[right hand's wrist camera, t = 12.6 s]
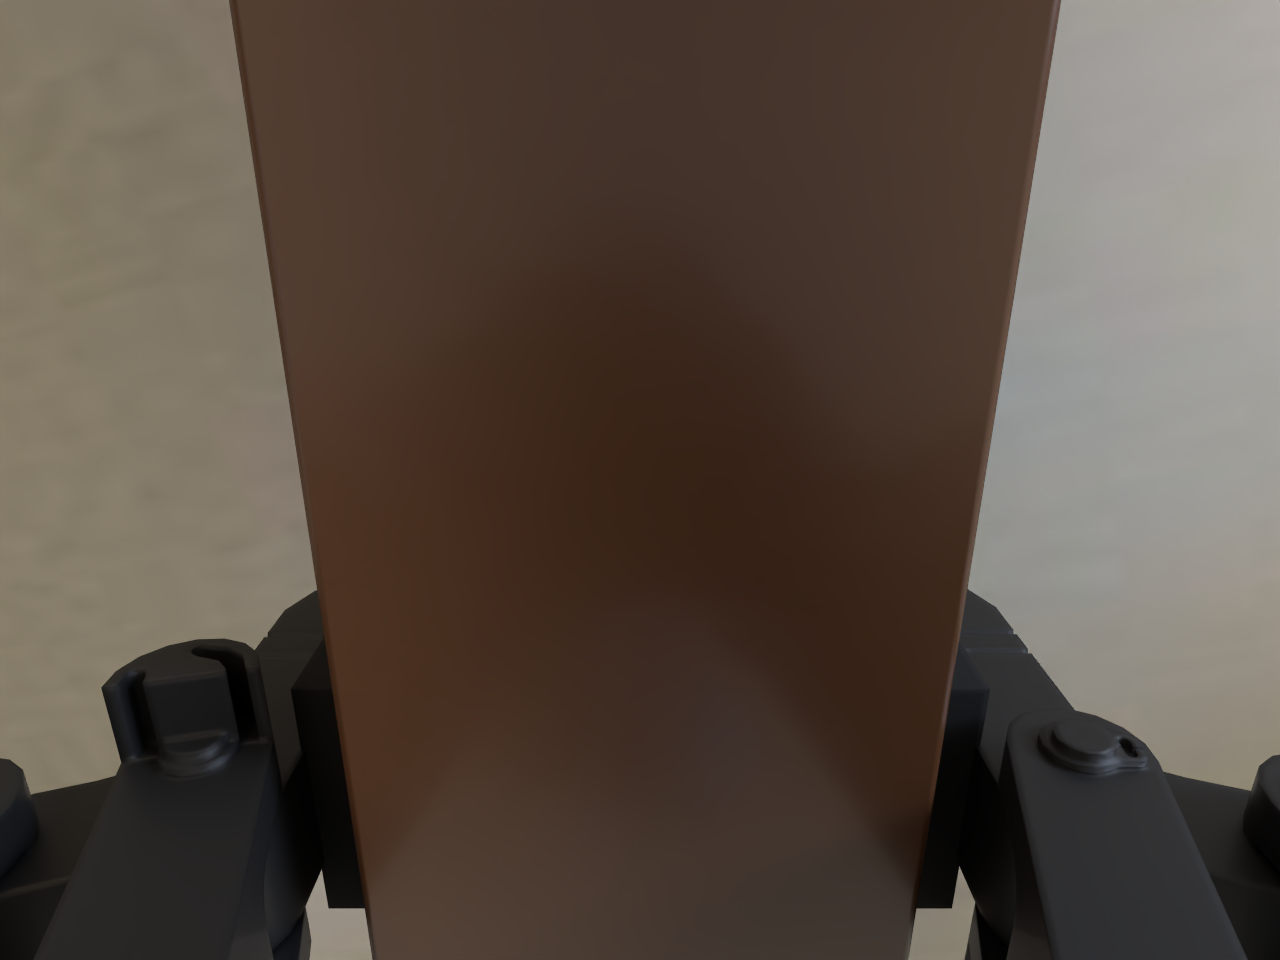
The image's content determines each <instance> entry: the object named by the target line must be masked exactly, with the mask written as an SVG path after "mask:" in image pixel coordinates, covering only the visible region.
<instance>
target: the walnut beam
mask: <svg viewBox="0 0 1280 960" xmlns="http://www.w3.org/2000/svg"><path fill="white" fill-rule="evenodd" d="M229 3H230V10H231V16H232V23H233V30H234V36H235V43H236V50H237V56H238V63H239V70H240V76H241V83H242V90H243V96H244V103H245V110H246V116H247V123H248V130H249V137H250V143H251V150H252V157H253V163H254V170H255V177H256V183H257V190H258V197H259V203H260V210H261V217H262V223H263V230H264V237H265V243H266V250H267V257H268V264H269V270H270V277H271V284H272V290H273V297H274V304H275V310H276V317H277V324H278V330H279V337H280V344H281V350H282V357H283V364H284V370H285V377H286V384H287V391H288V397H289V404H290V411H291V417H292V424H293V431H294V437H295V444H296V451H297V457H298V464H299V471H300V477H301V484H302V491H303V498H304V504H305V511H306V518H307V524H308V531H309V538H310V544H311V551H312V558H313V564H314V571H315V578H316V584H317V591H318V598H319V604H320V611H321V618H322V625H323V631H324V638H325V645H326V651H327V658H328V665H329V671H330V678H331V685H332V691H333V698H334V705H335V711H336V718H337V725H338V731H339V738H340V745H341V752H342V758H343V765H344V772H345V778H346V785H347V792H348V798H349V805H350V812H351V818H352V825H353V832H354V838H355V845H356V852H357V858H358V865H359V872H360V879H361V885H362V892H363V899H364V905H365V912H366V919H367V925H368V932H369V939H370V945H371V952H372V959H373V960H908V957H909V951H910V945H911V938H912V932H913V926H914V920H915V913H916V907H917V901H918V895H919V888H920V882H921V876H922V869H923V863H924V857H925V851H926V844H927V838H928V832H929V826H930V819H931V813H932V807H933V800H934V794H935V788H936V782H937V775H938V769H939V763H940V757H941V750H942V744H943V738H944V731H945V725H946V719H947V713H948V706H949V700H950V694H951V688H952V681H953V675H954V669H955V662H956V656H957V650H958V644H959V637H960V631H961V625H962V619H963V612H964V606H965V600H966V593H967V587H968V581H969V575H970V568H971V562H972V556H973V550H974V543H975V537H976V531H977V524H978V518H979V512H980V506H981V499H982V493H983V487H984V481H985V474H986V468H987V462H988V455H989V449H990V443H991V437H992V430H993V424H994V418H995V412H996V405H997V399H998V393H999V386H1000V380H1001V374H1002V368H1003V361H1004V355H1005V349H1006V342H1007V336H1008V330H1009V324H1010V317H1011V311H1012V305H1013V299H1014V292H1015V286H1016V280H1017V273H1018V267H1019V261H1020V255H1021V248H1022V242H1023V236H1024V230H1025V223H1026V217H1027V211H1028V204H1029V198H1030V192H1031V186H1032V179H1033V173H1034V167H1035V161H1036V154H1037V148H1038V142H1039V135H1040V129H1041V123H1042V117H1043V110H1044V104H1045V98H1046V92H1047V85H1048V79H1049V73H1050V66H1051V60H1052V54H1053V48H1054V41H1055V35H1056V29H1057V23H1058V16H1059V10H1060V4H1061V0H229Z"/></svg>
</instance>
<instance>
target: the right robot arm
mask: <svg viewBox="0 0 1280 960" xmlns="http://www.w3.org/2000/svg"><path fill="white" fill-rule="evenodd" d="M102 692H103V696H104V700H105V703H106V707H107V711H108V714H109V718H110V722H111V726H112V729H113V733H114V737H115V740H116V744H117V748H118V752H119V755H120V759H121V765H120V767H119V770H118V772H117V774H116V776H113V777H110V778H106V779H102V780H99V781H94V782H89V783H84V784H80V785H75V786H70V787H65V788H60V789H55V790H51V791H46V792H41V793H36V794H30V791H29V788H28V785H27V782H26V779H25V775H24V772H23V770H22V769H21V768H20V767H18V766H17V765H16V764H15V763H13V762H12V761H11V760H8V759H1V758H0V960H309V958H310V949H311V936H310V929H309V923H308V918H307V912H306V907H305V906H306V904H307V901H308V899H309V897H310V894H311V892H312V890H313V888H314V885H315V883H316V881H317V878H318V876H319V874H320V872H321V869H322V872H323V878H324V884H325V890H326V895H327V901H328V907H329V908H365V905H364V899H363V892H362V885H361V879H360V872H359V865H358V858H357V852H356V845H355V838H354V832H353V825H352V818H351V812H350V805H349V798H348V792H347V785H346V778H345V772H344V765H343V758H342V752H341V745H340V738H339V731H338V725H337V718H336V711H335V705H334V698H333V691H332V685H331V678H330V671H329V665H328V658H327V651H326V645H325V638H324V631H323V625H322V618H321V611H320V604H319V598H318V591H314V592H313V593H311V594H309V595H308V596H306V597H305V598H303V599H302V600H300V601H299V602H297V603H295V604H294V605H292V606H291V607H289V608H288V609H286V610H285V611H284V612H283V614H282V615H281V616H280V618H279V619H278V620H277V621H276V623H275V624H274V625H273V627H272V628H271V629H270V631H269V632H268V637H264V639H263V640H262V641H261V643H260V644H259V645H258V646H257V648H256V649H255V650H253V649H252V648H251V647H249V646H248V645H247V644H246V643H242V642H237V641H233V640H228V639H197V640H193V641H188V642H183V643H178V644H174V645H169V646H166V647H163V648H161V649H158V650H155V651H153V652H150V653H148V654H145V655H143V656H140V657H138V658H137V659H135V660H133V661H132V662H130V663H129V664H127V665H125V666H124V667H122V668H121V669H119V670H117V671H116V672H115V673H114V674H113V675H112V676H111V677H110V679H109V680H108V681H107V682H106V683H105V684H104V685H103V686H102ZM959 866H960V868H961V871H962V873H963V875H964V877H965V880H966V882H967V884H968V887H969V889H970V891H971V893H972V896H973V898H974V900H975V907H974V912H973V918H972V923H971V928H970V934H969V939H968V944H967V950H966V955H965V960H1280V755H1276V756H1272V757H1270V758H1269V759H1268V760H1266V761H1265V762H1264V763H1263V764H1261V765H1260V766H1259V768H1258V772H1257V775H1256V778H1255V781H1254V784H1253V787H1252V790H1251V791H1248V790H1243V789H1238V788H1234V787H1229V786H1224V785H1219V784H1214V783H1209V782H1204V781H1200V780H1195V779H1190V778H1185V777H1181V776H1177V775H1174V774H1170V773H1166V772H1163V770H1162V768H1161V766H1160V764H1159V762H1158V760H1157V759H1156V758H1155V756H1154V755H1153V754H1152V752H1151V751H1150V750H1149V748H1148V747H1147V746H1146V744H1145V743H1143V742H1142V741H1141V740H1139V739H1138V738H1136V737H1135V736H1134V735H1132V734H1131V733H1130V732H1128V731H1127V730H1125V729H1124V728H1122V727H1120V726H1118V725H1116V724H1114V723H1111V722H1109V721H1107V720H1105V719H1102V718H1100V717H1098V716H1095V715H1091V714H1087V713H1083V712H1079V711H1075V710H1074V709H1073V707H1072V706H1071V705H1070V703H1069V702H1068V701H1067V699H1066V698H1065V697H1064V696H1063V694H1062V693H1061V692H1060V690H1059V689H1058V688H1057V686H1056V685H1055V684H1054V682H1053V681H1052V680H1051V679H1050V677H1049V676H1048V675H1047V673H1046V672H1045V671H1044V669H1043V668H1042V667H1041V666H1040V664H1039V663H1038V662H1037V660H1036V659H1035V658H1034V656H1033V655H1032V654H1028V649H1027V647H1026V646H1025V645H1024V643H1023V642H1022V641H1021V639H1020V638H1019V637H1018V636H1017V634H1013V629H1012V628H1011V626H1010V625H1009V624H1008V622H1007V621H1006V620H1005V619H1004V617H1003V616H1002V615H1001V613H1000V612H999V611H998V609H997V608H996V607H995V606H993V605H991V604H990V603H988V602H987V601H985V600H984V599H982V598H980V597H979V596H977V595H976V594H974V593H973V592H971V591H970V590H968V589H967V593H966V600H965V606H964V612H963V619H962V625H961V631H960V637H959V644H958V650H957V656H956V662H955V669H954V675H953V681H952V688H951V694H950V700H949V706H948V713H947V719H946V725H945V731H944V738H943V744H942V750H941V757H940V763H939V769H938V775H937V782H936V788H935V794H934V800H933V807H932V813H931V819H930V826H929V832H928V838H927V844H926V851H925V857H924V863H923V869H922V876H921V882H920V888H919V895H918V901H917V907H916V908H952V904H953V898H954V893H955V887H956V881H957V876H958V870H959Z"/></svg>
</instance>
